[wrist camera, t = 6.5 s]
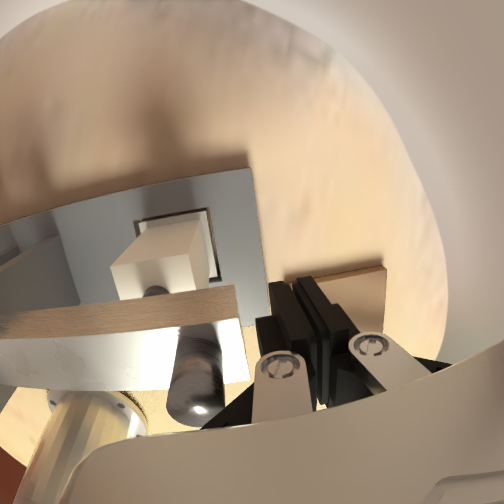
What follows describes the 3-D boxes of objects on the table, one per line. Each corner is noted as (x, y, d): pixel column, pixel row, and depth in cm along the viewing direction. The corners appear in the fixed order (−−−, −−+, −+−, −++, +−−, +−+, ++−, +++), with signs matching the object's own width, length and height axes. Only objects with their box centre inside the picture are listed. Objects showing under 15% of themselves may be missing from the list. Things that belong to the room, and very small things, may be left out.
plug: (217, 270, 24) (216, 351, 14) (156, 280, 23) (120, 360, 13) (206, 208, 22) (193, 251, 12) (142, 219, 22) (86, 269, 12)
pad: (376, 346, 28) (380, 352, 27) (290, 367, 27) (292, 373, 26) (381, 265, 25) (386, 269, 24) (283, 283, 24) (285, 288, 24)
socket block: (268, 313, 25) (315, 471, 11) (29, 338, 24) (-44, 438, 9) (249, 167, 21) (307, 192, 7) (-10, 228, 20) (-125, 292, 6)
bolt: (243, 339, 12) (257, 430, 8) (-56, 350, 11) (-90, 388, 7) (234, 283, 12) (243, 367, 7) (-71, 318, 10) (-109, 353, 6)
